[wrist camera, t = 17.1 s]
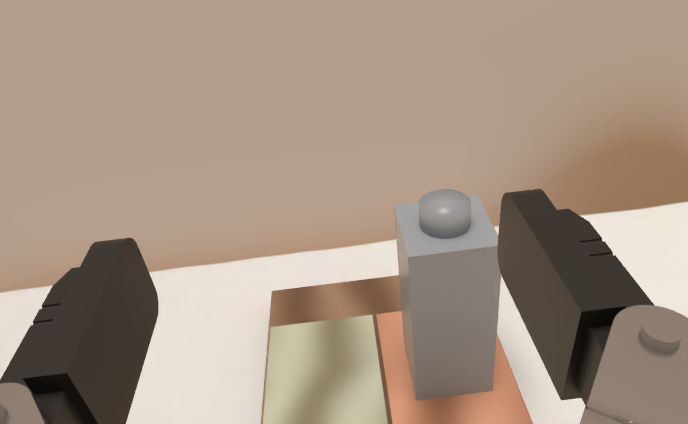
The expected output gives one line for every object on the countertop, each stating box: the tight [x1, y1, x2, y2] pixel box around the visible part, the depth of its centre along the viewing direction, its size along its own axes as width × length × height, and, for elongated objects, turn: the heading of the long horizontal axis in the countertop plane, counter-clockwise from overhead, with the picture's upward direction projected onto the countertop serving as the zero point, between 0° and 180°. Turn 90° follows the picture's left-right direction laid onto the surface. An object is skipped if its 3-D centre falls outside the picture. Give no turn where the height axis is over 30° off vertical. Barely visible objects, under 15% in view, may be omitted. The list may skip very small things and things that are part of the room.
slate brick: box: [394, 189, 501, 400], centre depth 33 cm, size 5×5×13 cm
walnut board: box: [261, 275, 533, 424], centre depth 37 cm, size 17×20×2 cm
